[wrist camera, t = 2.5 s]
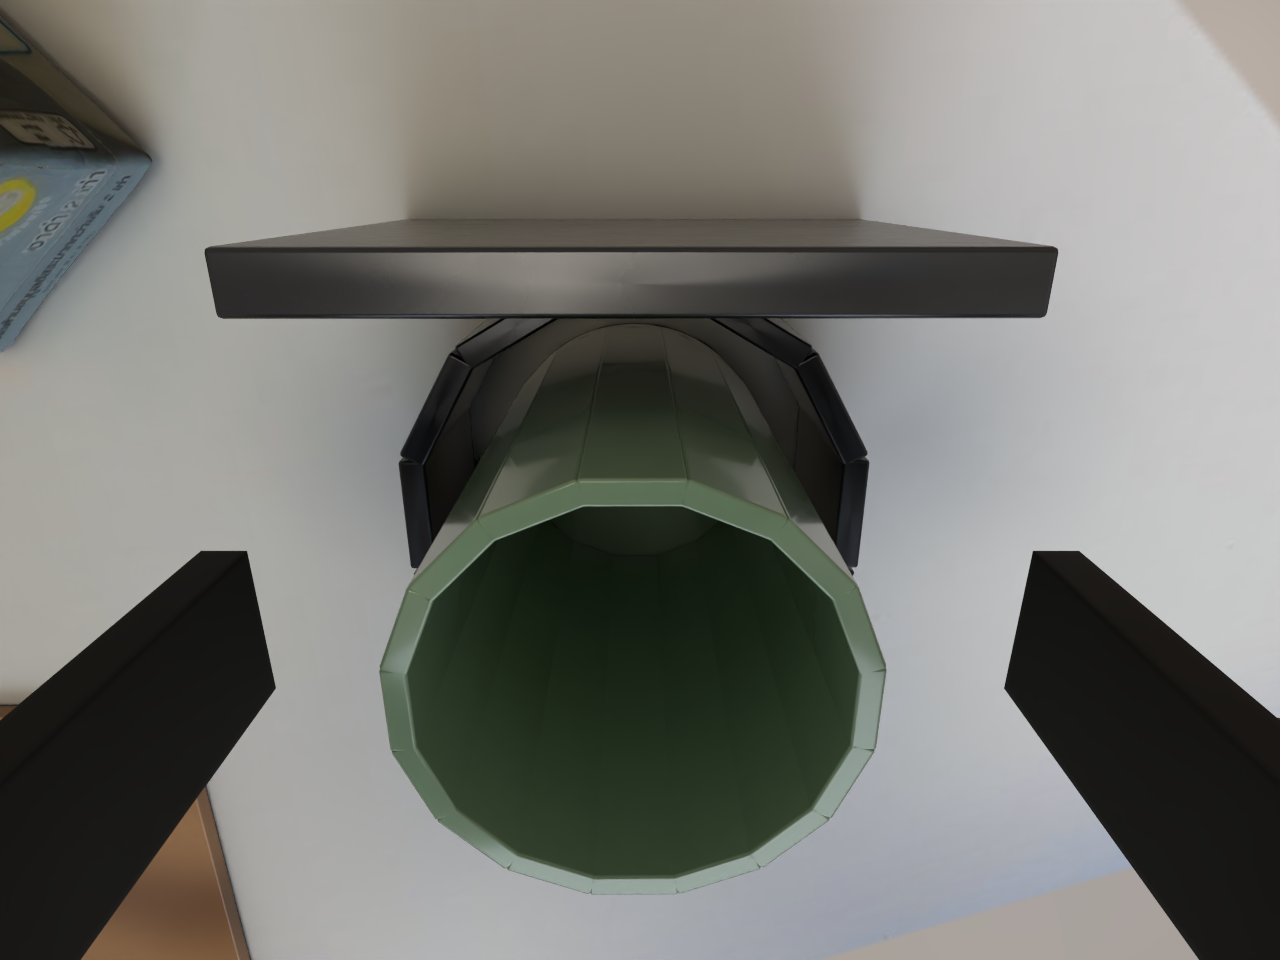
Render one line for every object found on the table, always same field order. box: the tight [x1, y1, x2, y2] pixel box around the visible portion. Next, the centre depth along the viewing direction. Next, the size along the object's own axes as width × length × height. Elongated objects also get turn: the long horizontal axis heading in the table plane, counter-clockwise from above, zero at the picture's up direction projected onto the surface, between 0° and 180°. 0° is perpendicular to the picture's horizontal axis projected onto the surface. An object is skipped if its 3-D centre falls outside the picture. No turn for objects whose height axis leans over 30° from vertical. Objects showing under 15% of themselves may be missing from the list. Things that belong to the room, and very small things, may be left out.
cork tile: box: [0, 706, 250, 960], centre depth 28 cm, size 14×14×1 cm
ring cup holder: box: [205, 219, 1058, 576], centre depth 17 cm, size 12×12×10 cm
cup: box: [379, 324, 886, 894], centre depth 17 cm, size 7×7×12 cm
